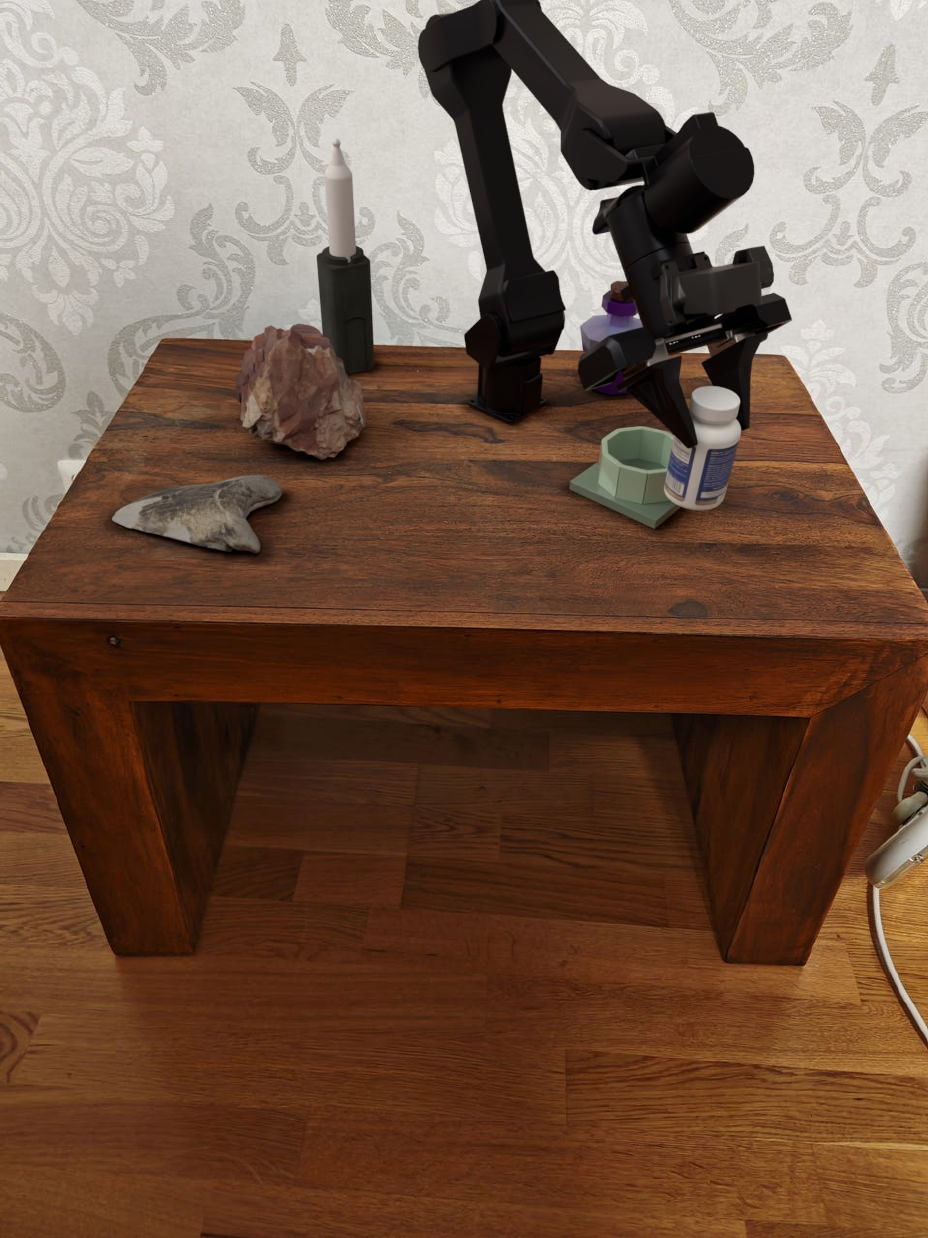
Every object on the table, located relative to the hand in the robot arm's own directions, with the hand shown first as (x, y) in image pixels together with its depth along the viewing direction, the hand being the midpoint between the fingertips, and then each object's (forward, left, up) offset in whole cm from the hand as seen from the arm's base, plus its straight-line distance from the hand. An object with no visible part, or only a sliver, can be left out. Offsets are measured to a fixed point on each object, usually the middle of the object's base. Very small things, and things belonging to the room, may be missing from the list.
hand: (718, 438), depth 81 cm
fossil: (-38, -27, -13) cm, 48 cm away
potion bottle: (-24, +22, -13) cm, 35 cm away
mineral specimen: (-43, -9, -13) cm, 46 cm away
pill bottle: (-1, +1, -7) cm, 7 cm away
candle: (-50, +5, -13) cm, 52 cm away
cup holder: (-10, +6, -12) cm, 17 cm away
